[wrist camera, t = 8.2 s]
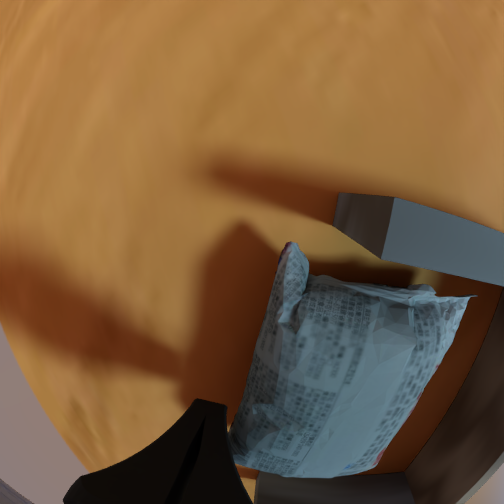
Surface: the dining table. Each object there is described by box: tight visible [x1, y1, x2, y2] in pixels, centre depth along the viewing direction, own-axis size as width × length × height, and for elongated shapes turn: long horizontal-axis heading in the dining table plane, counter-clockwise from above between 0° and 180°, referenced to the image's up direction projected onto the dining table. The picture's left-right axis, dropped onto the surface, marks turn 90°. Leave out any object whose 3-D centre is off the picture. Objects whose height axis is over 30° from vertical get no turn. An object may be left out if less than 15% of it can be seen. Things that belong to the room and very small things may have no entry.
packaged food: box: [228, 242, 477, 478], centre depth 11 cm, size 9×12×5 cm
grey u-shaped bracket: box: [254, 193, 504, 504], centre depth 11 cm, size 19×12×6 cm, turn 170°
